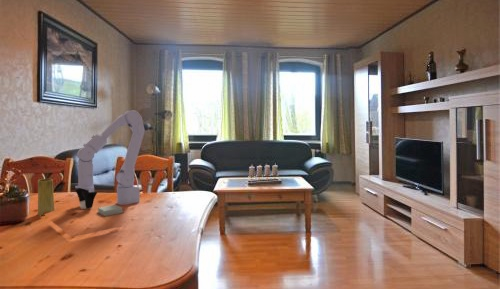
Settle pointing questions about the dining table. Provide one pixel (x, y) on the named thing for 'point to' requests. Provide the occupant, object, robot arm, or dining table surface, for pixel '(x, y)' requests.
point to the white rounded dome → (82, 204)
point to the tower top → (110, 210)
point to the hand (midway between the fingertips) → (86, 206)
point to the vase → (45, 196)
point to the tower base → (108, 215)
